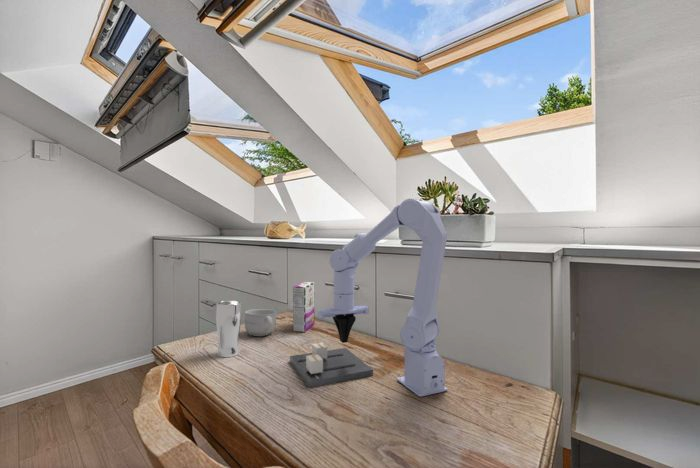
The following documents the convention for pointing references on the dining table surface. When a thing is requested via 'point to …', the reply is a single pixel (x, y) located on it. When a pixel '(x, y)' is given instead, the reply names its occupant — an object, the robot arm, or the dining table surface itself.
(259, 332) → the teacup
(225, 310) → the beer glass
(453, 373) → the dining table surface
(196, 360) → the dining table surface
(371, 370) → the fader console
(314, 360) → the fader near
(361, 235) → the robot arm
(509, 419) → the dining table surface
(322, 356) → the fader far
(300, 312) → the candy bar box
